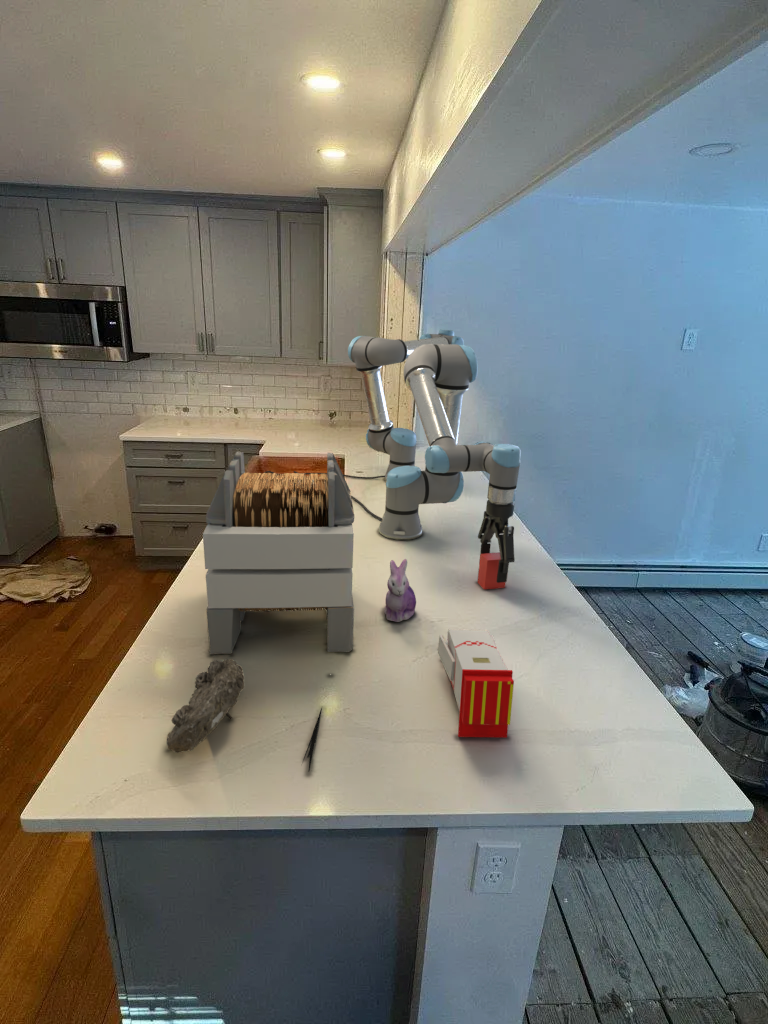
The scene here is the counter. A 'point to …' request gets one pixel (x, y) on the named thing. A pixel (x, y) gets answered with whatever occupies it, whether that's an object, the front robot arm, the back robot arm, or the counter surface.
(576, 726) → the counter surface
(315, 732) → the feather
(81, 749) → the counter surface
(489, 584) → the block
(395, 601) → the figurine
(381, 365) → the back robot arm
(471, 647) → the toy
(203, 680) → the fossil
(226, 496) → the record crate
